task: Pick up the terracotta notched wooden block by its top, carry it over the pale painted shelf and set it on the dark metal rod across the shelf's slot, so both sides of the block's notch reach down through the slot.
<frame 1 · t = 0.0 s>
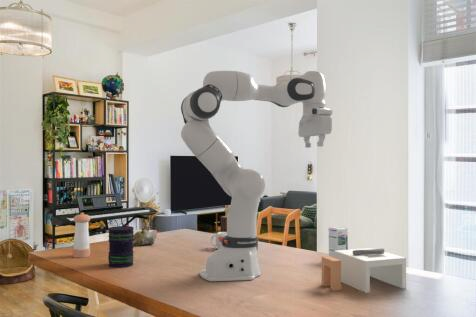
hand: (314, 147, 168), 48 cm above the table, fingers open, 8 cm apart
syrup box: (338, 262, 177), on the table
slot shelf: (368, 283, 144), on the table
mug: (221, 249, 205), on the table
ceramic sculpture: (142, 245, 213), on the table
notched wooden block: (331, 287, 139), on the table
salt shaker: (81, 256, 185), on the table
storage jar: (120, 265, 169), on the table
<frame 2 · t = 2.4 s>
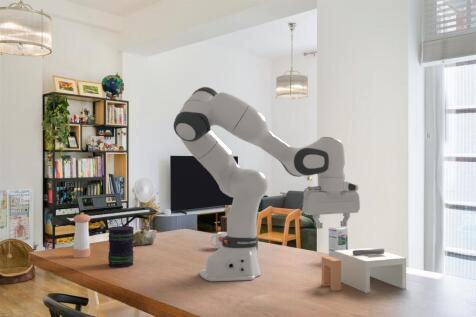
hand: (331, 227, 139), 20 cm above the table, fingers open, 8 cm apart
nothing on the table moved.
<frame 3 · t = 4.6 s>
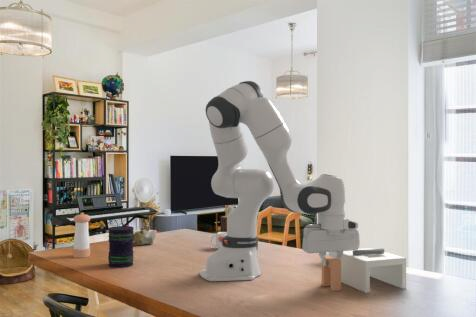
hand: (331, 265, 139), 7 cm above the table, fingers closed on notched wooden block, 3 cm apart
notched wooden block: (331, 287, 139), on the table, touching gripper
everything else where it was.
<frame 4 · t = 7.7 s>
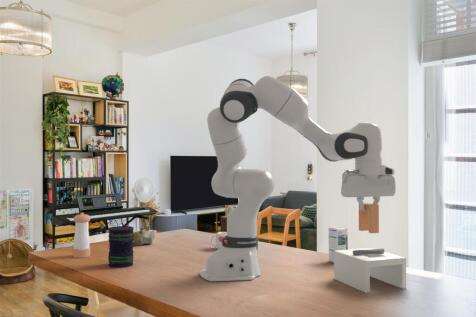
hand: (368, 209, 144), 25 cm above the table, fingers closed on notched wooden block, 3 cm apart
notched wooden block: (368, 231, 144), point 18 cm above the table, touching gripper
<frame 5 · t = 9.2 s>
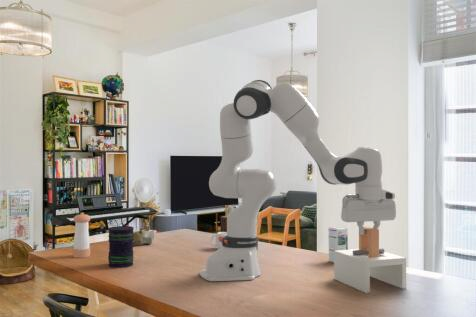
hand: (368, 234, 144), 17 cm above the table, fingers closed on notched wooden block, 3 cm apart
notched wooden block: (368, 255, 144), point 9 cm above the table, touching gripper
when the fingers open (13 cm above the table, at t = 10.7 s): notched wooden block stays where it is, resting on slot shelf.
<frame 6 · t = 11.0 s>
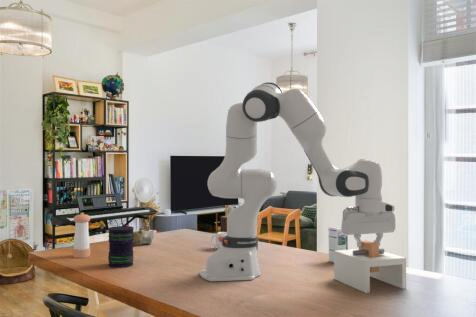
hand: (368, 246, 145), 13 cm above the table, fingers open, 5 cm apart
notched wooden block: (368, 269, 144), point 5 cm above the table, touching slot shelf
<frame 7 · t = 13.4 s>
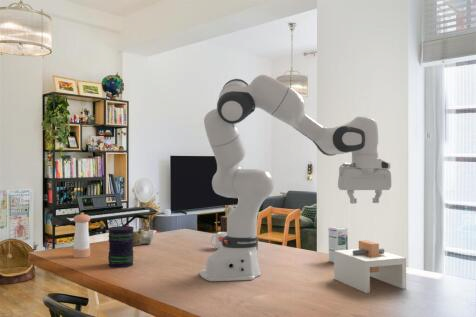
hand: (364, 203, 146), 27 cm above the table, fingers open, 8 cm apart
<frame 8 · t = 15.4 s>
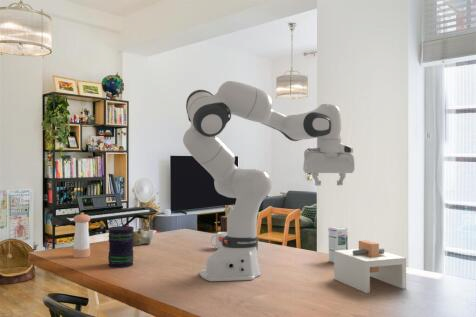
hand: (329, 185, 156), 33 cm above the table, fingers open, 8 cm apart
at the end: notched wooden block 0.0 cm off-centre on the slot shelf, point 4.6 cm above the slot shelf's base; the gripper is holding nothing; notched wooden block tilted 0° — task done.
